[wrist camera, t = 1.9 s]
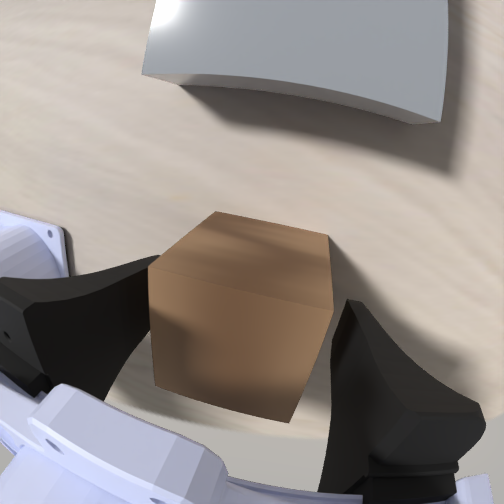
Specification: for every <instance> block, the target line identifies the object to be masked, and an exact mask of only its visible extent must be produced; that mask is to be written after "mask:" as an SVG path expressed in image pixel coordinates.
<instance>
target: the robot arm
mask: <svg viewBox="0 0 504 504" xmlns="http://www.w3.org/2000/svg"><path fill="white" fill-rule="evenodd" d="M160 256H161V255H155V256H150V257H147V258H143V259H140V260H136V261H133V262H130V263H127V264H124V265H120V266H117V267H113V268H110V269H106V270H102V271H99V272H94V273H90V274H85V275H79V276H73V277H69V273H68V266H67V258H66V250H65V240H64V233H63V230H62V229H61V227H59V226H56V225H53V224H49V223H46V222H42V221H38V220H35V219H31V218H28V217H24V216H21V215H17V214H13V213H10V212H7V211H3V210H0V442H1V443H2V444H3V445H4V446H5V447H6V448H7V449H8V450H9V451H10V452H11V453H12V454H13V455H14V456H15V457H14V458H13V460H12V461H11V462H10V463H9V465H8V466H7V467H6V469H5V470H4V471H3V473H2V474H1V475H0V504H494V502H493V497H492V491H491V486H490V482H489V477H488V474H487V473H484V474H479V475H474V476H468V477H464V478H461V479H459V480H457V481H455V478H454V473H456V472H457V471H458V470H459V466H458V460H459V459H460V458H461V457H462V456H464V455H465V454H466V453H467V451H469V450H470V449H471V448H472V447H473V446H474V445H475V444H476V443H477V442H478V441H479V440H480V438H481V437H482V435H483V433H484V431H485V428H486V422H485V419H484V416H483V414H482V411H481V408H480V405H479V403H477V402H475V401H473V400H471V399H469V398H467V397H465V396H463V395H461V394H459V393H457V392H455V391H453V390H452V389H450V388H449V387H447V386H445V385H444V384H442V383H441V382H439V381H438V380H436V379H435V378H433V377H432V376H431V375H430V374H428V373H427V372H426V371H424V370H423V369H422V368H421V367H419V366H418V365H417V364H416V363H415V362H414V361H413V360H412V359H411V358H409V357H408V356H407V355H406V354H405V353H404V352H403V351H402V350H401V349H400V348H399V347H398V345H397V344H396V343H395V342H394V341H393V340H392V339H391V338H390V336H389V335H388V334H387V333H386V332H385V330H384V329H383V328H382V327H381V325H380V324H379V323H378V322H377V320H376V319H375V318H374V316H373V315H372V314H371V313H370V311H369V310H368V309H367V308H366V306H365V305H364V304H363V303H362V302H358V301H354V300H349V299H347V301H346V304H345V307H344V310H343V312H342V315H341V318H340V321H339V323H338V326H337V329H336V331H335V334H334V336H333V339H332V347H331V358H330V369H331V403H332V407H331V421H330V429H329V437H328V444H327V450H326V456H325V461H324V466H323V470H322V475H321V480H320V484H319V487H318V491H317V492H310V491H302V490H295V489H288V488H282V487H276V486H270V485H265V484H260V483H255V482H251V481H246V480H242V479H238V478H234V477H230V476H228V471H227V469H226V467H225V464H224V462H223V461H222V459H221V458H220V457H219V456H217V455H216V454H215V453H213V452H212V451H211V450H209V449H208V448H207V447H205V446H204V445H202V444H200V443H198V442H196V441H193V440H191V439H189V438H187V437H185V436H183V435H181V434H178V433H175V432H172V431H170V430H167V429H164V428H162V427H159V426H156V425H154V424H152V423H149V422H147V421H145V420H142V419H140V418H137V417H135V416H133V415H130V414H128V413H126V412H124V411H122V410H120V409H118V408H116V407H113V406H111V405H109V404H107V403H105V402H104V400H105V398H106V396H107V394H108V392H109V390H110V388H111V386H112V384H113V382H114V381H115V379H116V377H117V375H118V374H119V372H120V370H121V369H122V367H123V365H124V364H125V362H126V360H127V359H128V357H129V356H130V354H131V353H132V352H133V350H134V349H135V348H136V347H137V345H138V344H139V343H140V342H141V341H142V339H143V338H144V337H145V336H146V334H147V333H148V332H149V331H150V315H149V290H148V266H149V265H150V264H151V263H153V262H154V261H155V260H156V259H157V258H159V257H160Z"/></svg>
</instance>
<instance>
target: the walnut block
mask: <svg viewBox="0 0 504 504" xmlns="http://www.w3.org/2000/svg"><path fill="white" fill-rule="evenodd" d="M148 290H149V315H150V332H151V346H152V358H153V368H154V378H155V386H157V387H160V388H163V389H165V390H168V391H171V392H174V393H177V394H180V395H183V396H186V397H189V398H192V399H195V400H198V401H201V402H204V403H208V404H211V405H214V406H218V407H221V408H225V409H229V410H232V411H236V412H240V413H244V414H248V415H252V416H256V417H261V418H265V419H270V420H274V421H279V422H284V423H289V422H290V420H291V418H292V416H293V413H294V411H295V409H296V407H297V404H298V402H299V400H300V398H301V395H302V393H303V391H304V388H305V386H306V383H307V381H308V379H309V376H310V374H311V371H312V369H313V366H314V364H315V361H316V359H317V356H318V353H319V351H320V348H321V345H322V343H323V340H324V337H325V335H326V332H327V329H328V326H329V324H330V321H331V318H332V315H333V312H334V304H333V289H332V276H331V264H330V253H329V242H328V235H326V234H321V233H317V232H313V231H308V230H303V229H299V228H294V227H290V226H285V225H280V224H276V223H271V222H266V221H261V220H256V219H252V218H247V217H242V216H237V215H232V214H227V213H222V212H216V211H215V212H214V213H213V214H212V215H210V216H209V217H208V218H207V219H205V220H204V221H203V222H202V223H200V224H199V225H198V226H197V227H195V228H194V229H193V230H192V231H190V232H189V233H188V234H187V235H185V236H184V237H183V238H182V239H180V240H179V241H178V242H177V243H176V244H174V245H173V246H172V247H171V248H169V249H168V250H167V251H166V252H165V253H163V254H162V255H161V256H160V257H159V258H157V259H156V260H155V261H154V262H153V263H151V264H150V265H149V266H148Z"/></svg>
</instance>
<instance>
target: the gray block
mask: <svg viewBox="0 0 504 504" xmlns="http://www.w3.org/2000/svg"><path fill="white" fill-rule="evenodd" d="M447 55H448V0H157V3H156V7H155V10H154V15H153V19H152V23H151V27H150V32H149V36H148V41H147V46H146V51H145V57H144V62H143V68H142V74H141V75H145V76H149V77H152V78H156V79H160V80H163V81H167V82H170V83H173V84H177V85H195V86H215V87H229V88H240V89H250V90H259V91H267V92H274V93H281V94H288V95H294V96H300V97H305V98H311V99H316V100H321V101H326V102H331V103H335V104H340V105H344V106H348V107H352V108H357V109H360V110H364V111H368V112H372V113H375V114H379V115H382V116H386V117H389V118H393V119H396V120H399V121H402V122H405V123H408V124H411V125H412V124H423V123H436V122H441V116H442V109H443V101H444V92H445V83H446V71H447Z"/></svg>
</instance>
